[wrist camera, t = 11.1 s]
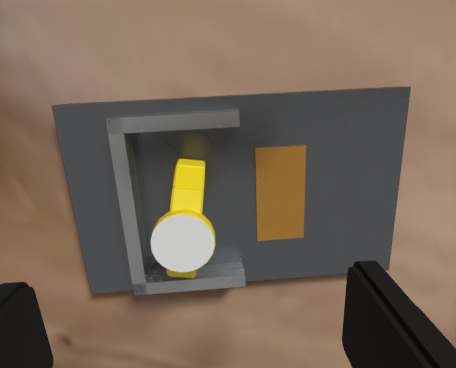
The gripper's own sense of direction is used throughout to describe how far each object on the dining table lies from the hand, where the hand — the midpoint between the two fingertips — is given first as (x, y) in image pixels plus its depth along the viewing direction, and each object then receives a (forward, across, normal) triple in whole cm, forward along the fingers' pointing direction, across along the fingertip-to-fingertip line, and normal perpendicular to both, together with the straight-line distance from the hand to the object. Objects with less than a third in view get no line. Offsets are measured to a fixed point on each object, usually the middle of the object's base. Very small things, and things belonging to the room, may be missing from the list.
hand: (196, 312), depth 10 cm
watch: (+10, +1, 0) cm, 11 cm away
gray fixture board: (+12, -2, 0) cm, 12 cm away
